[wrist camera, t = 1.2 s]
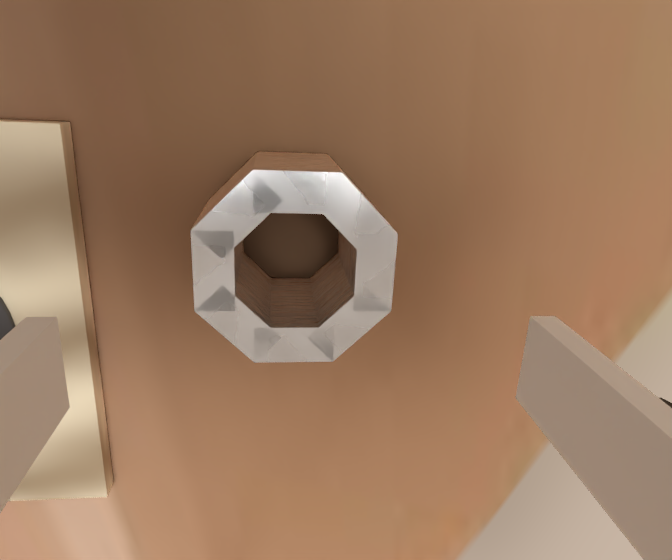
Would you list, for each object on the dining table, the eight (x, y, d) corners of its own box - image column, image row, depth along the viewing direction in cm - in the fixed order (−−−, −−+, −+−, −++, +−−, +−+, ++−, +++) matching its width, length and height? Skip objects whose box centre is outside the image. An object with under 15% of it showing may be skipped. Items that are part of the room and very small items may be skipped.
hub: (207, 149, 25) (187, 167, 19) (375, 155, 26) (403, 174, 20) (212, 306, 27) (196, 363, 22) (364, 306, 28) (386, 360, 23)
